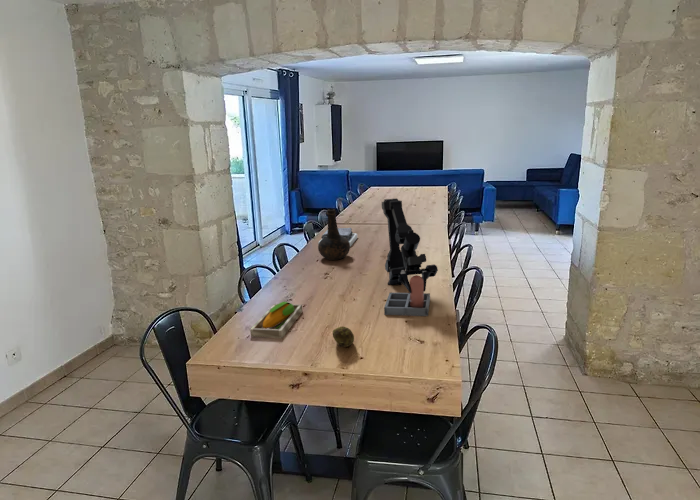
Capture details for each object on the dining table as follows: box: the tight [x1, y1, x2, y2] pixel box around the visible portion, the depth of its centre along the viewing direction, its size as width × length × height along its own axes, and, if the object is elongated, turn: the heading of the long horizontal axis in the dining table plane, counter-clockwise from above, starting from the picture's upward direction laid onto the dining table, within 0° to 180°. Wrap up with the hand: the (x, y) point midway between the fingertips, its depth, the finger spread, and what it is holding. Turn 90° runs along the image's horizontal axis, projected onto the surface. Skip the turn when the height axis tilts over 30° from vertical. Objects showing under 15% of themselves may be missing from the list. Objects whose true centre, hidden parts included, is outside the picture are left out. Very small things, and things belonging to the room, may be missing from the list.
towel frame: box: [317, 232, 358, 248], centre depth 306 cm, size 23×20×3 cm
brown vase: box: [317, 208, 351, 261], centre depth 269 cm, size 18×18×28 cm
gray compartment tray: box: [383, 292, 431, 317], centre depth 197 cm, size 17×17×3 cm
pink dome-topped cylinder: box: [409, 274, 425, 308], centre depth 190 cm, size 5×5×13 cm
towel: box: [321, 227, 353, 241], centre depth 305 cm, size 15×18×8 cm
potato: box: [332, 326, 355, 348], centre depth 165 cm, size 8×13×8 cm, turn 168°
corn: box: [262, 301, 295, 329], centre depth 186 cm, size 7×8×20 cm
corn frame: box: [249, 303, 303, 339], centre depth 187 cm, size 25×12×3 cm, turn 168°
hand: (417, 291), depth 189 cm, fingers closed on pink dome-topped cylinder, 5 cm apart
